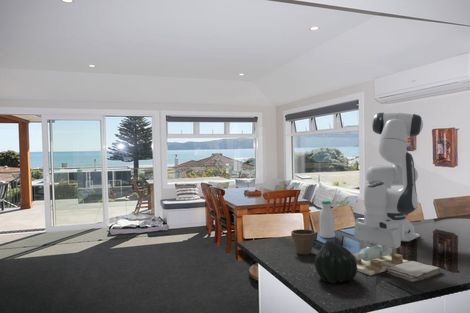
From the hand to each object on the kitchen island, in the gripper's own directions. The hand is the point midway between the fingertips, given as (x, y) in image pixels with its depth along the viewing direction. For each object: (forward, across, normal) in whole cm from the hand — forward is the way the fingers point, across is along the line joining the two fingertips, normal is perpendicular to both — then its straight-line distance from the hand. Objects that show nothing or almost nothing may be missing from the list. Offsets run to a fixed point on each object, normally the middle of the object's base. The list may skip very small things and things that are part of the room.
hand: (376, 253), depth 143 cm
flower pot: (+5, -30, -13) cm, 33 cm away
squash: (+5, +2, -26) cm, 27 cm away
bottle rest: (+4, 0, 0) cm, 5 cm away
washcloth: (+5, +14, +4) cm, 15 cm away
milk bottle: (+5, -45, +17) cm, 48 cm away
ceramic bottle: (+2, 0, -2) cm, 3 cm away
